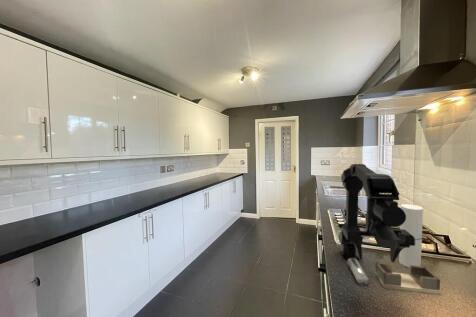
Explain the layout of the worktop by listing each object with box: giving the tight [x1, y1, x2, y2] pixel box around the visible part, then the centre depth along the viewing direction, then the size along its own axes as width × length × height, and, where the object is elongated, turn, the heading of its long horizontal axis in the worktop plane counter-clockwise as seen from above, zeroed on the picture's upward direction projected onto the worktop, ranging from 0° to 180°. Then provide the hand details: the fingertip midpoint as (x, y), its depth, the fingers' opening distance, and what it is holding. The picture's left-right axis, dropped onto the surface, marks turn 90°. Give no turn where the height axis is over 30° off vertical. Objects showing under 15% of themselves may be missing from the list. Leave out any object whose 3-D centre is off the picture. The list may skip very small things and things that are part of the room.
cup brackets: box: [375, 261, 441, 291], centre depth 76 cm, size 8×17×4 cm, turn 77°
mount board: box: [374, 270, 442, 295], centre depth 76 cm, size 8×17×1 cm, turn 77°
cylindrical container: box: [398, 203, 424, 268], centre depth 87 cm, size 7×7×25 cm
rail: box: [347, 258, 370, 287], centre depth 82 cm, size 12×4×4 cm, turn 167°
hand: (376, 260), depth 67 cm, fingers open, 9 cm apart
